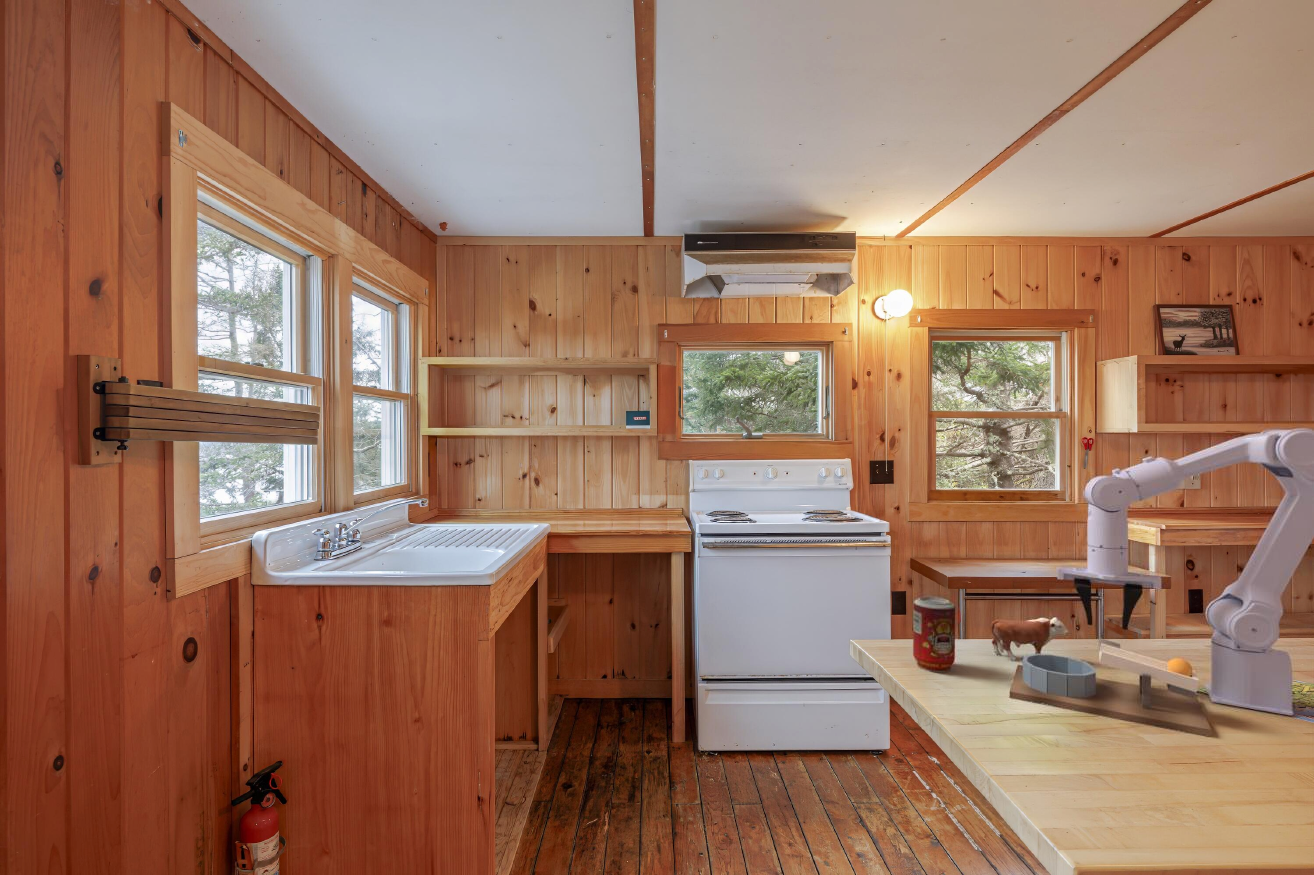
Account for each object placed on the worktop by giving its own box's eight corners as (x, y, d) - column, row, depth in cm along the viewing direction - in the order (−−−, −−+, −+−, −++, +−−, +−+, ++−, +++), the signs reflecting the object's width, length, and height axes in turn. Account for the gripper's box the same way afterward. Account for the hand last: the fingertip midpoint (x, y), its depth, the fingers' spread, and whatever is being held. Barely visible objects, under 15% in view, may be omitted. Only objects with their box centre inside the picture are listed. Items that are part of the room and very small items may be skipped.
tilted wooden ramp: (1183, 673, 107) (1187, 656, 107) (1194, 700, 96) (1199, 680, 96) (1096, 647, 114) (1100, 631, 114) (1097, 670, 103) (1102, 651, 103)
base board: (1196, 701, 104) (1196, 663, 104) (1211, 737, 92) (1211, 694, 92) (1017, 670, 118) (1017, 637, 118) (1009, 697, 105) (1009, 660, 105)
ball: (1187, 678, 100) (1193, 660, 100) (1190, 685, 97) (1196, 666, 97) (1163, 670, 102) (1169, 652, 101) (1165, 676, 99) (1171, 658, 99)
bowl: (1095, 682, 109) (1095, 661, 109) (1095, 702, 101) (1096, 680, 101) (1025, 670, 115) (1025, 650, 115) (1020, 688, 107) (1020, 667, 107)
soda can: (929, 675, 115) (930, 605, 115) (905, 661, 122) (905, 596, 122) (963, 671, 117) (964, 603, 117) (937, 659, 124) (937, 594, 124)
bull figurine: (1071, 665, 121) (1071, 621, 121) (992, 659, 124) (993, 616, 124) (1061, 657, 125) (1062, 614, 125) (986, 652, 128) (986, 610, 128)
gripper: (1056, 545, 112) (1056, 624, 112) (1163, 554, 104) (1163, 639, 104) (1058, 540, 118) (1057, 615, 118) (1159, 548, 110) (1158, 628, 110)
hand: (1107, 626), depth 111 cm, fingers open, 4 cm apart
